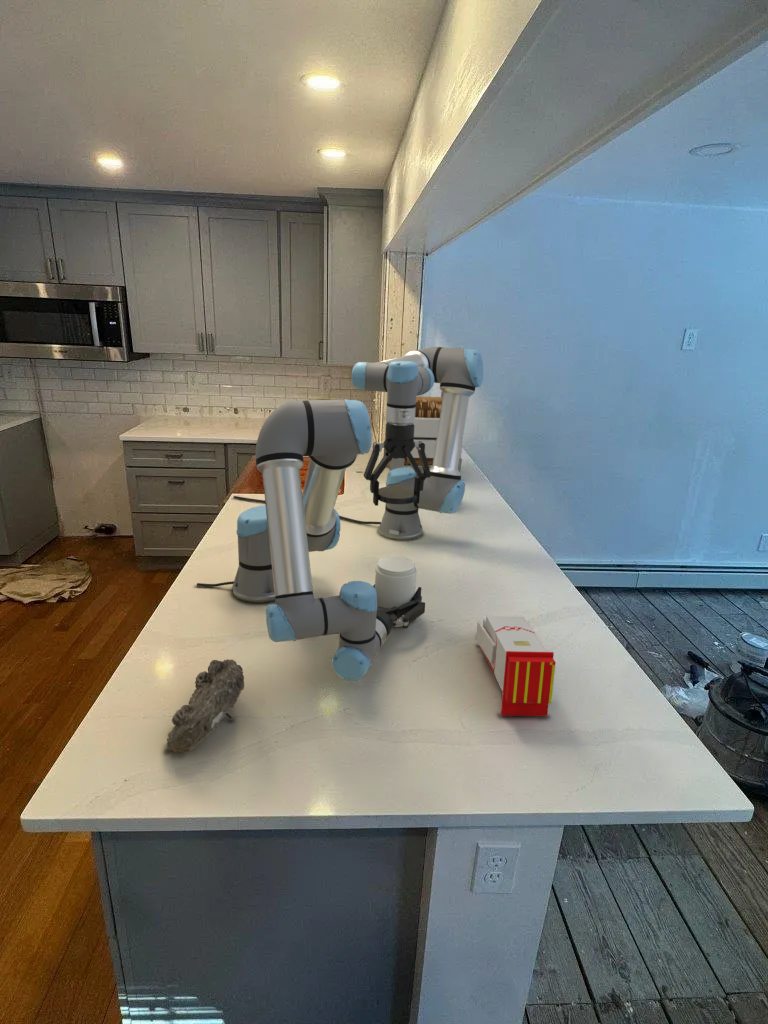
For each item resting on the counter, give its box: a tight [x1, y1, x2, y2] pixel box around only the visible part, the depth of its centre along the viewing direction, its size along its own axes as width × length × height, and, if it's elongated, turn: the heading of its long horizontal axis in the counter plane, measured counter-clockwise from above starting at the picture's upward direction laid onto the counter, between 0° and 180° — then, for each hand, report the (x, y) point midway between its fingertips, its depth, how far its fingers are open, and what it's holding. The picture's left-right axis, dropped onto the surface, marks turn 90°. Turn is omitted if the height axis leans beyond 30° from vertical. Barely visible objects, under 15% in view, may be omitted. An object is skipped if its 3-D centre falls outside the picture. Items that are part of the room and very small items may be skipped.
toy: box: [475, 615, 557, 717], centre depth 123 cm, size 12×13×30 cm
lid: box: [378, 486, 417, 504], centre depth 154 cm, size 11×11×2 cm
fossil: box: [166, 658, 245, 754], centre depth 106 cm, size 22×10×15 cm
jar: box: [374, 555, 418, 628], centre depth 144 cm, size 10×10×15 cm
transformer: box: [383, 391, 464, 474], centre depth 268 cm, size 34×33×41 cm
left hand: (399, 587), depth 148 cm, fingers closed on jar, 10 cm apart
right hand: (396, 503), depth 155 cm, fingers closed on lid, 11 cm apart
